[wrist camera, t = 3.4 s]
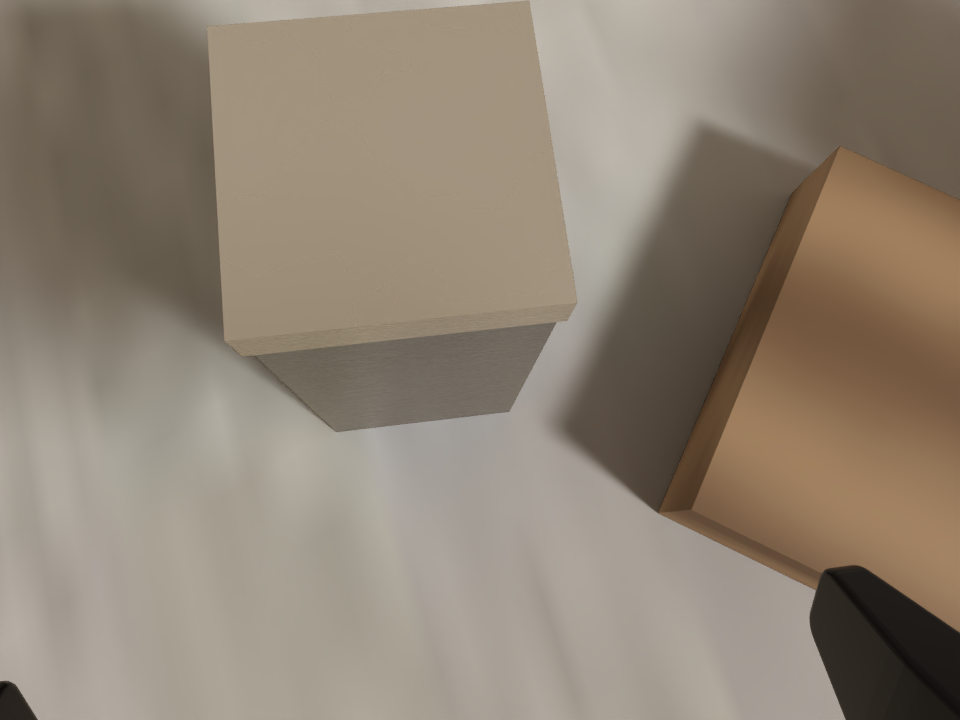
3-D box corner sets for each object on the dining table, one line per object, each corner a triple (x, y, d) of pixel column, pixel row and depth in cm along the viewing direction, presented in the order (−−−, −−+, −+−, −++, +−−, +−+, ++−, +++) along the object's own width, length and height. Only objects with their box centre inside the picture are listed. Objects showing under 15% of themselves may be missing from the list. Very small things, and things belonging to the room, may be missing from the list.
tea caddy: (513, 414, 22) (577, 302, 11) (332, 435, 22) (224, 341, 11) (490, 246, 23) (529, 1, 13) (318, 264, 23) (207, 26, 12)
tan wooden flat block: (1022, 691, 21) (1115, 716, 18) (658, 513, 22) (691, 509, 19) (1122, 344, 23) (1219, 317, 20) (792, 192, 24) (839, 146, 21)
